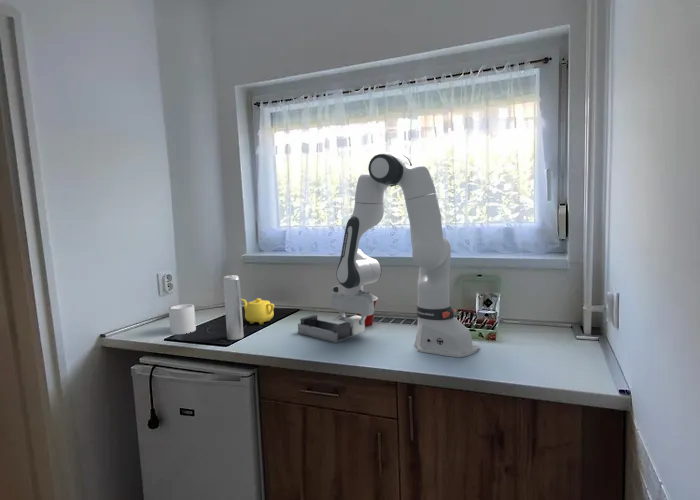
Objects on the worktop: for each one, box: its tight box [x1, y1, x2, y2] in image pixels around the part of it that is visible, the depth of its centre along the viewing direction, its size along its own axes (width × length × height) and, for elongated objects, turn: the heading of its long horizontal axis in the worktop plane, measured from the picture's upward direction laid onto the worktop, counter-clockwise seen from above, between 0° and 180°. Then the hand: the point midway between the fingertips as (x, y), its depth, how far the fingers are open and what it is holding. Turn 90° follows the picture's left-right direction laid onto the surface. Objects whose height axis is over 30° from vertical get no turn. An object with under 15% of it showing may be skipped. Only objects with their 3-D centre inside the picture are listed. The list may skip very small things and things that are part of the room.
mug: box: [168, 303, 197, 335], centre depth 189 cm, size 14×10×11 cm
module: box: [344, 314, 366, 336], centre depth 176 cm, size 5×6×6 cm
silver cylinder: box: [222, 274, 245, 341], centre depth 174 cm, size 6×6×25 cm
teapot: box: [241, 297, 275, 325], centre depth 198 cm, size 18×11×11 cm, turn 65°
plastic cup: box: [355, 295, 379, 327], centre depth 186 cm, size 11×11×12 cm
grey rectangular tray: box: [297, 314, 355, 344], centre depth 174 cm, size 22×10×6 cm, turn 46°
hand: (352, 322), depth 176 cm, fingers open, 8 cm apart
